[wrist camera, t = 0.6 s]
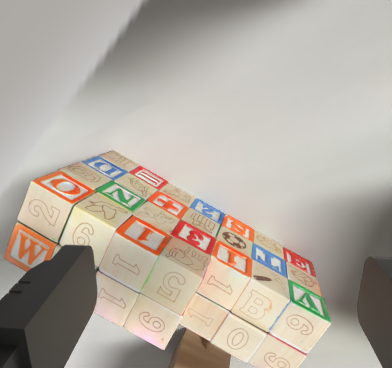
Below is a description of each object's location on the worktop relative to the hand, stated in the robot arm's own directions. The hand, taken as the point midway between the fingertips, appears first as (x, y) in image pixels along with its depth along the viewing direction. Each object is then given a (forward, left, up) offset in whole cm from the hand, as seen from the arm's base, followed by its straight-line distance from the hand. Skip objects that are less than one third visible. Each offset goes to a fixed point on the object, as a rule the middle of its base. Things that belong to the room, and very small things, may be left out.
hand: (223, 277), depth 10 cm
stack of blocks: (+9, -1, -21) cm, 23 cm away
